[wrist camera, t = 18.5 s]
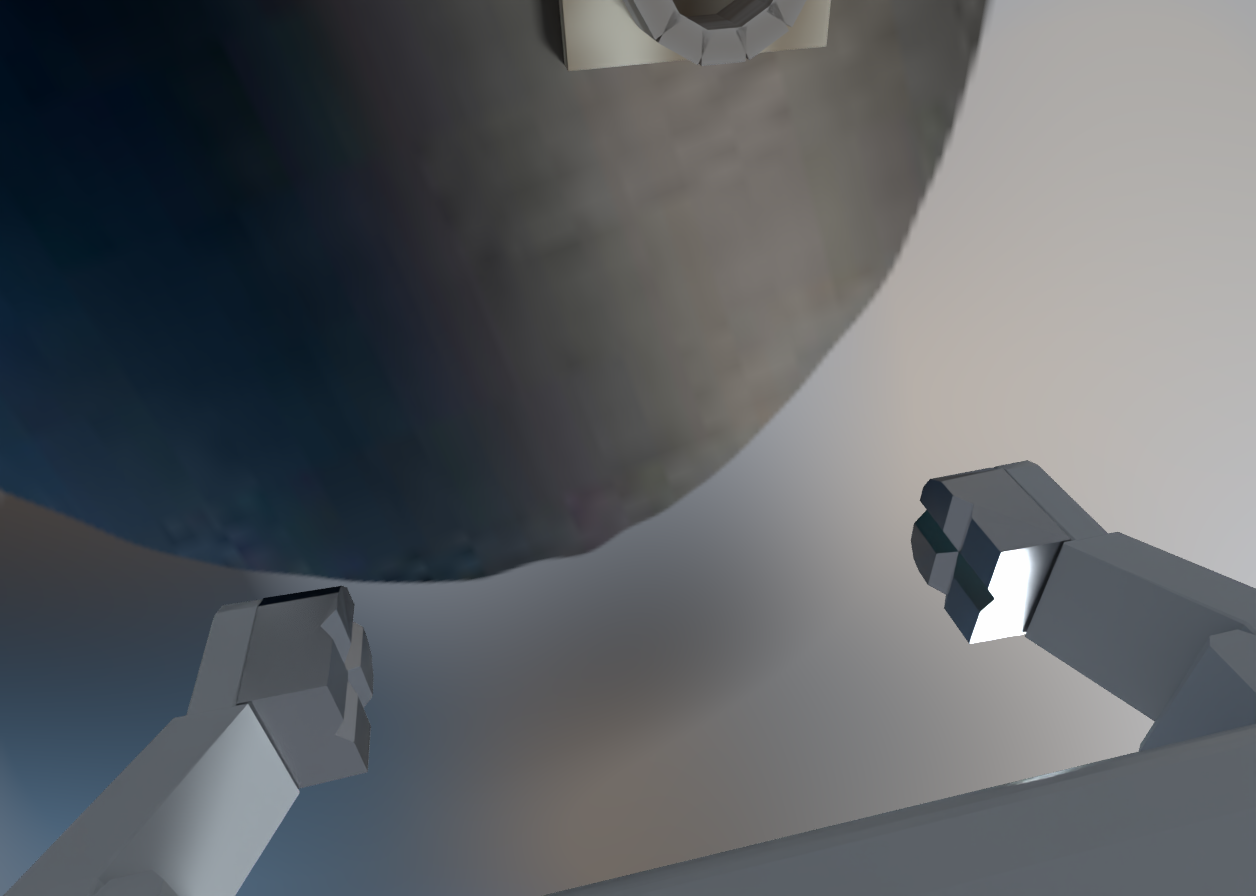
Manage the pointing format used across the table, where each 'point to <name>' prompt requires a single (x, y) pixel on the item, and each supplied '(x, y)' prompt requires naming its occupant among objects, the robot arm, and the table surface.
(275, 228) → the table surface
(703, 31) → the birch board
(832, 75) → the table surface
